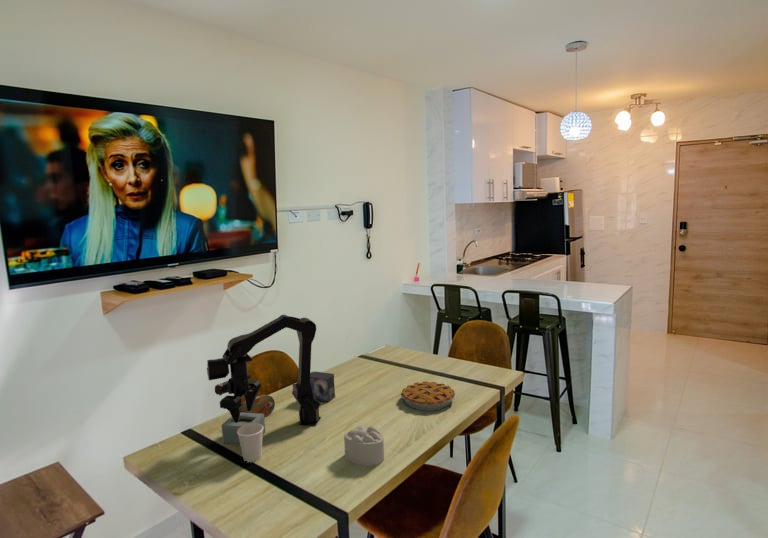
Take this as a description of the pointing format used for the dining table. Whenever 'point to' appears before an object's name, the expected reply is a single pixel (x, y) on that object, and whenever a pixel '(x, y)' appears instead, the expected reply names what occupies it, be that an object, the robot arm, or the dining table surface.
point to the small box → (322, 386)
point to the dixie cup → (251, 441)
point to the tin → (260, 405)
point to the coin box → (231, 427)
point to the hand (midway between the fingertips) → (243, 416)
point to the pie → (428, 396)
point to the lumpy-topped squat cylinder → (364, 446)
